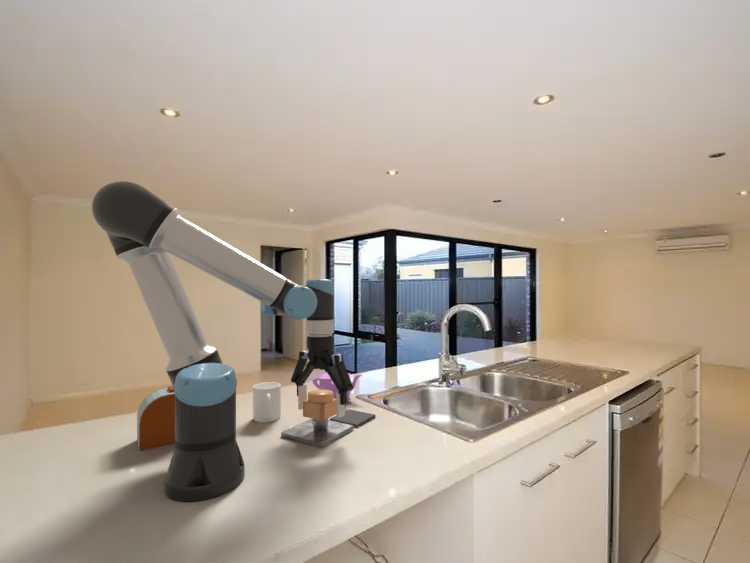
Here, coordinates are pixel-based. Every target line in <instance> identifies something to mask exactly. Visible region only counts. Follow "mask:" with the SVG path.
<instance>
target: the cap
mask: <svg viewBox="0 0 750 563" xmlns="http://www.w3.org/2000/svg"><path fill="white" fill-rule="evenodd" d="M334 416H336V399H335V398H333V391H331V390H319V389H315V390H311V391H309V392H307V400H306V401H303V409H302V417H304V418H309V419H316V420H321V421H323V420H325V419H327V418H328V419H330V418H332V417H334Z"/></svg>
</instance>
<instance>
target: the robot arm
mask: <svg viewBox="0 0 750 563" xmlns="http://www.w3.org/2000/svg"><path fill="white" fill-rule="evenodd" d="M91 211H92V216H93V217H94V220H95V222H96V223H97V225H98V226H99V227H100V228H101V229H102V230H104V231H105V232H106V235H107V237H108V239H109V242H110V244H111V246H112V248H113V250H114V253H115V255H116V257H117V259H119V260H122V261H124V262H125V263H127V264H128V266H129V268H130V270H131V272H132V275H133V277H134V279H135V282H136V284H137V287H138V289H139V291H140V293H141V295H142V297H143V300H144V303H145V305H146V308H147V310H148V312H149V314H150V316H151V319H152V321H153V323H154V326H155V329H156V331H157V333H158V335H159V338H160V340H161V342H162V344H163V347H164V349H165V351H166V353H167V357H168V359H169V361H168V363H167V364H166V367H165V370H166V374H167V376H168V378H169V381H170V382H171V386H173V387H174V393H175V443H174V449H173V452H172V453H173V454H172V456H171V459H170V462H169V465H168V469H167V473H166V475H165V477H164V493H165V496H167V497H168V498H169V499H172V500H174V501H179V502H195V501H196V502H197V501H198V502H199V501H203V500H209V499H212V498H213V499H214V498H215V497H218V496H221V495H223V494H226V493H228V492H230V491H232V490H233V489H235V488H236V487H237V486H239V485H240V484H241V483H242V481H243V480H244V479H245V474H246V473H245V472H246V471H245V465H246V464H245V461H244V459H243V455H242V451H241V450H240V448H239V444H238V441H237V405H236V404H237V386H238V379H237V377H236V371H235V369H234V368H233V367H232V366H230V365H228V364H224V363H223V361H222V358H221V356H220V354H219V351H218V348H217V347H215V346H214V345H213V346H212V345H209V344H208V342H207V340H206V338H205V335H204V332H203V331H202V327H201V326H200V325H201V324H200V322H199V320H198V317H197V315H196V313H195V310H194V308H193V305H192V304H191V301H190V298H189V295H188V294H187V291H186V289H185V286H184V284H183V281H182V280H181V277H180V274H179V272H178V268H177V267H176V264H175V262H174V259H173V257H172V255H173V256H175V257H177V258H179V259H180V260H182V261H185V262H186V263H188V264H189V265H192V266H193V267H195V268H197V269H198V270H201V271H203V272H204V273H207V274H208V275H211V276H212V277H214V278H216V279H218V280H220V281H222V282H224V283H225V284H227V285H230V286H231V287H233V288H235V289H237V290H239V291H241V292H242V293H244V294H246V295H248V296H250V297H252V298H253V299H255V300H257V301H259V302H260V309H261V313H262V314H263V315H264V316H270V317H272V316H273V317H277V316H284V317H288V318H291V319H293V320H296V321H299V320H305V319H306V335H307V337H306V349H304V350H300V351H299V352H298V360H297V362H296V365H295V368H294V371H293V373H292V376H291V378H290V381H291V383H294V384H295V386H296V397H298V399H297V400H298V401H297V402H298V403H297V404H298V406H297V407H298V410H300V411H301V410H303V401H306V400H308V389H307V388H308V387H307V385H308V384H307V382H306V381H307V380H308V379H309V377H310V375H311V374H312V372H314V370H317V369H319V370H321V371H323V370H324V371H325V373H328V374H329V376H330V378H331V379H332V381H333V383H334V384H335V386H336V388H337V389H338V391H339V392H337V393H336V415H335V416H337V418H340V417H342V416H344V415H345V411H346V407H345V406H346V405H347V402H348V401H347V391H349V390H352V389H353V385H352V382H353V381H352V379H351V376H350V377H349V375H348V373H349V372H348V370H347V367H346V364H345V363H344V354H343V353H338V354H334V352H333V351H334V348H335V335H333V334H334V333H335V323H334V322H335V321H334V320H335V315H334V314H335V313H334V312H335V310H334V308H335V304H334V303H335V299H334V298H335V293H334V283H333V281H332V280H331V279H327V278H326V279H325V278H323V279H322V278H320V279H319V278H317V279H314V278H313V279H307V280H306V283H305V285H301V284H298V283H296V282H294V281H293V280H291V279H289V278H287V277H285V276H284V275H282V274H281V273H279V272H277V271H275V270H274V269H272V268H271V267H268V266H267V265H265V264H264V263H261V262H260V261H259V260H257V259H255V258H253V257H251V256H250V255H248V254H246V253H244V252H243V251H241V250H239V249H238V248H235V247H234V246H232V245H230V244H229V243H227V242H225V241H223V240H222V239H220V238H219V237H217V236H215V235H213V234H212V233H210V232H209V231H206V229H203V228H201V227H199V226H198V225H197V224H195V223H193V222H191V221H190V220H188V219H186V218H184V217H182V216H181V215H180V212H179V209H178V208H177V207H175V206H173V205H171V203H168V202H166V201H165V200H163V199H162V198H161V197H159V196H158V195H156V193H155V194H154V193H153V192H152V191H150V190H149V189H148V188H146V187H144V186H142V185H140V184H139V183H135V182H131V181H125V180H123V181H122V180H121V181H113V182H110V183H107V184H105V185H104V186H102V187H101V188H99V189H98V191H97V192H96V193H95V195H94V197H93V199H92V204H91ZM353 390H354V389H353ZM353 390H352V391H353Z"/></svg>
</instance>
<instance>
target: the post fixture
mask: <svg viewBox="0 0 750 563" xmlns="http://www.w3.org/2000/svg"><path fill="white" fill-rule="evenodd" d="M352 431H354V427H353V425H349V424H344V423H340V422H336V421H331V420H330V419H329V418H327V419H325V420H323V421H321V420H316V419H312V418H309V419H308V420H305V421H303V422H301V423H299V424H296V425H294V426H292V427H289V428H287V429H285V430H282V431H281V432H280V437H282V438H285V439H287V440H292V441H295V442H298V443H302V444H306V445H310V446H313V447H317V448H319V449H322V448H324V447H326V446H327V445H329V444H330V443H331V444H332V442H334V441H336V440H338V439H339V438H341V437H343V436H345V435H347V434H348V433H350V432H352Z"/></svg>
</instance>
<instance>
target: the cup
mask: <svg viewBox="0 0 750 563" xmlns="http://www.w3.org/2000/svg"><path fill="white" fill-rule="evenodd" d="M281 393H282V384H281V383H280V382H274V381H267V382H260V383H256V384H254V385H253V386H252V418H253V420H254V421H255V422H257V423H260V424H262V423H263V424H264V423H265V422H267V423H271V422H275V421H278V420H279V419H280V418H281V415H282V394H281Z"/></svg>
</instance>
